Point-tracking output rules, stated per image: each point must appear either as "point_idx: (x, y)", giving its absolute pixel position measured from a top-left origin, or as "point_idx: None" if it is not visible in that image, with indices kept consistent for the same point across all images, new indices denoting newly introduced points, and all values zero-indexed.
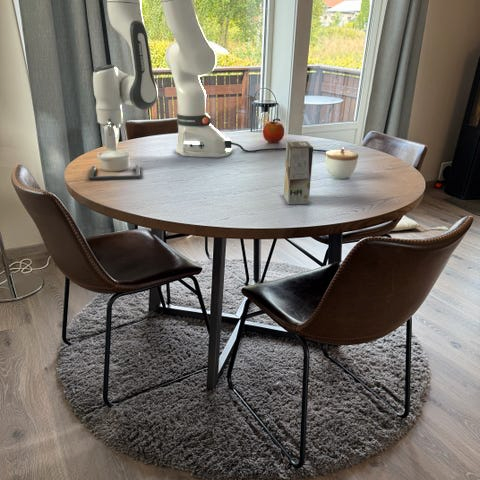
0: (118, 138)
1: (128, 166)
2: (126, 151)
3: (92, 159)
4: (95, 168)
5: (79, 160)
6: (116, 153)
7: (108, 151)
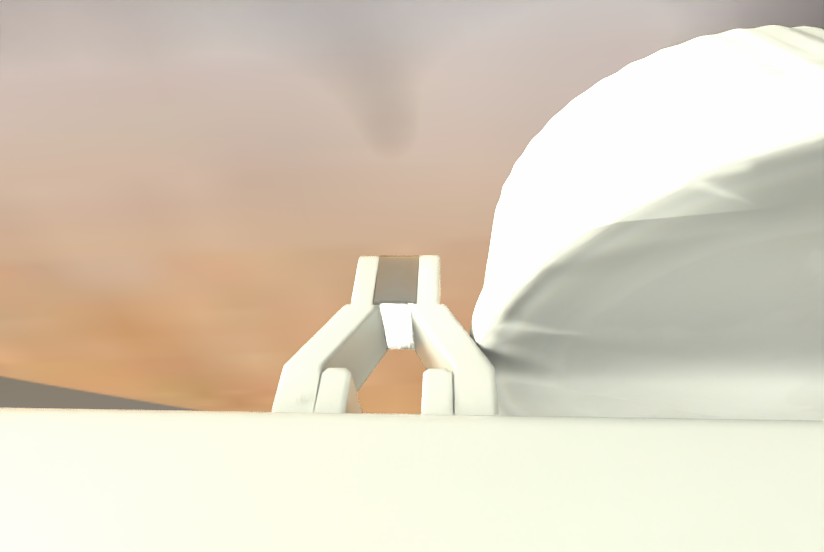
0: (65, 454)
1: (819, 28)
2: (713, 193)
3: (251, 371)
4: None
5: None
6: (789, 337)
7: (529, 403)
